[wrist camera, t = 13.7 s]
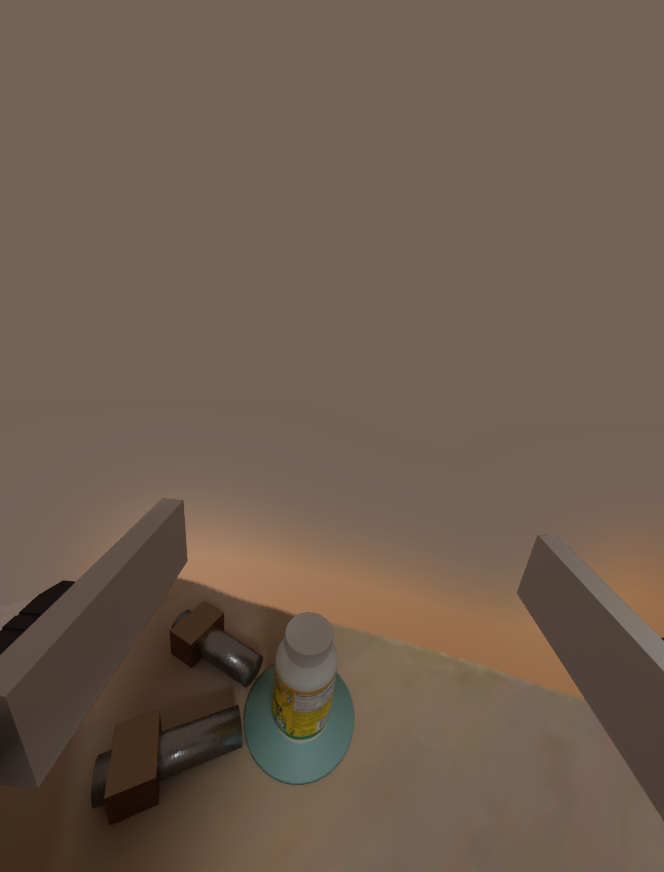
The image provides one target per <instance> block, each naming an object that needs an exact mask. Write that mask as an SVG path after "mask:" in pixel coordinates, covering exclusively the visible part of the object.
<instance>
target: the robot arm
mask: <svg viewBox="0 0 664 872" xmlns="http://www.w3.org/2000/svg"><path fill="white" fill-rule="evenodd" d="M186 562H187V547H186V532H185V518H184V503H183V500H176V499H166V498H162V499H161V500H160V501H159V502H158V503H157V504H156V505H155V506H154V507H153V508H152V509H151V510H150V511H149V512H148V513H147V514H146V515H145V516H144V517H143V518H142V519H141V520H140V521H139V522H138V523H136V524H135V525H134V526H133V528H131V529H130V530H129V531H128V532H127V533H126V534H125V535H124V536H123V537H122V538H121V539H120V540H119V541H118V542H117V543H116V544H115V545H114V546H113V547H112V548H111V549H110V550H109V551H108V552H106V554H104V555H103V556H102V557H101V558H100V559H99V560H98V561H97V562H96V563H95V564H94V565H93V566H92V567H91V568H90V569H89V570H88V571H87V572H86V573H85V574H84V575H83V576H82V577H81V578H80V579H79V580H77V581H76V582H73V581H61V582H60V583H58V584H56V585H55V586H53V587H51V588H49V589H48V590H46V591H44V592H43V593H41V594H39V595H38V596H37V597H36V598H35V599H34V600H32V601H31V602H30V603H29V604H28V605H27V606H26V607H25V608H23V609H22V610H21V611H20V612H19V615H18V616H15V617H13V618H12V619H11V620H10V621H9V622H8V623H7V624H6V625H4V626H3V627H2V630H1V631H0V784H1V785H10V786H20V787H31V788H39V787H40V785H41V784H42V782H43V781H44V779H45V778H46V776H47V774H48V773H49V771H50V770H51V768H52V767H53V765H54V764H55V762H56V761H57V759H58V758H59V756H60V755H61V753H62V752H63V750H64V749H65V747H66V746H67V744H68V742H69V741H70V739H71V738H72V736H73V735H74V733H75V732H76V730H77V729H78V727H79V726H80V724H81V723H82V721H83V720H84V718H85V717H86V715H87V713H88V712H89V710H90V709H91V707H92V706H93V704H94V703H95V701H96V700H97V698H98V697H99V695H100V694H101V692H102V691H103V689H104V688H105V686H106V684H107V683H108V681H109V680H110V678H111V677H112V675H113V674H114V672H115V671H116V669H117V668H118V666H119V665H120V663H121V662H122V660H123V659H124V657H125V656H126V654H127V652H128V651H129V649H130V648H131V646H132V645H133V643H134V642H135V640H136V639H137V637H138V636H139V634H140V633H141V631H142V630H143V628H144V627H145V625H146V623H147V622H148V620H149V619H150V617H151V616H152V614H153V613H154V611H155V610H156V608H157V607H158V605H159V604H160V602H161V601H162V599H163V598H164V596H165V594H166V593H167V591H168V590H169V588H170V587H171V585H172V584H173V582H174V581H175V579H176V578H177V576H178V575H179V573H180V571H181V570H182V569H183V567H184V565H185V564H186ZM517 594H518V596H519V597H520V599H521V600H522V602H523V603H524V605H525V607H526V608H527V610H528V611H529V613H530V614H531V616H532V617H533V619H534V620H535V622H536V624H537V625H538V627H539V628H540V630H541V631H542V633H543V634H544V636H545V637H546V639H547V641H548V642H549V644H550V645H551V647H552V648H553V650H554V652H555V653H556V655H557V656H558V658H559V659H560V661H561V662H562V664H563V665H564V667H565V668H566V670H567V671H568V673H569V674H570V676H571V678H572V679H573V681H574V682H575V684H576V686H577V687H578V688H579V690H580V692H581V693H582V695H583V696H584V698H585V700H586V701H587V703H588V704H589V706H590V707H591V709H592V710H593V712H594V713H595V715H596V717H597V718H598V720H599V721H600V723H601V724H602V726H603V727H604V729H605V730H606V732H607V734H608V735H609V737H610V738H611V740H612V741H613V743H614V744H615V746H616V748H617V749H618V751H619V752H620V754H621V755H622V757H623V758H624V760H625V761H626V763H627V765H628V766H629V768H630V769H631V771H632V772H633V774H634V775H635V777H636V779H637V780H638V782H639V783H640V785H641V786H642V788H643V789H644V791H645V792H646V794H647V796H648V797H649V799H650V800H651V802H652V803H653V805H654V806H655V808H656V809H657V811H658V813H659V814H660V816H661V817H662V819H663V820H664V638H660V637H659V636H658V635H657V634H656V633H655V632H654V631H653V630H652V629H651V628H650V627H649V626H648V625H647V624H646V623H645V622H644V621H643V620H642V619H641V618H640V617H639V616H638V615H637V614H636V613H635V612H634V611H633V610H632V609H631V608H630V607H629V606H628V605H627V604H626V603H625V602H624V601H623V600H622V599H621V598H620V597H619V596H618V595H617V594H616V593H615V592H614V591H613V590H612V589H611V588H610V587H609V586H608V585H607V584H606V583H605V582H604V581H602V579H601V578H600V577H599V576H598V575H597V574H596V573H595V572H594V571H593V570H591V569H590V568H589V567H588V566H587V565H586V564H585V563H584V562H583V561H582V560H581V559H580V558H579V557H578V556H577V555H576V554H575V553H574V552H573V551H572V550H571V549H570V548H569V547H568V546H567V545H566V544H565V543H564V542H563V541H562V540H561V539H560V538H559V537H555V536H545V535H538V536H537V538H536V541H535V544H534V547H533V549H532V552H531V555H530V558H529V561H528V563H527V566H526V569H525V572H524V575H523V577H522V580H521V583H520V586H519V588H518V591H517Z"/></svg>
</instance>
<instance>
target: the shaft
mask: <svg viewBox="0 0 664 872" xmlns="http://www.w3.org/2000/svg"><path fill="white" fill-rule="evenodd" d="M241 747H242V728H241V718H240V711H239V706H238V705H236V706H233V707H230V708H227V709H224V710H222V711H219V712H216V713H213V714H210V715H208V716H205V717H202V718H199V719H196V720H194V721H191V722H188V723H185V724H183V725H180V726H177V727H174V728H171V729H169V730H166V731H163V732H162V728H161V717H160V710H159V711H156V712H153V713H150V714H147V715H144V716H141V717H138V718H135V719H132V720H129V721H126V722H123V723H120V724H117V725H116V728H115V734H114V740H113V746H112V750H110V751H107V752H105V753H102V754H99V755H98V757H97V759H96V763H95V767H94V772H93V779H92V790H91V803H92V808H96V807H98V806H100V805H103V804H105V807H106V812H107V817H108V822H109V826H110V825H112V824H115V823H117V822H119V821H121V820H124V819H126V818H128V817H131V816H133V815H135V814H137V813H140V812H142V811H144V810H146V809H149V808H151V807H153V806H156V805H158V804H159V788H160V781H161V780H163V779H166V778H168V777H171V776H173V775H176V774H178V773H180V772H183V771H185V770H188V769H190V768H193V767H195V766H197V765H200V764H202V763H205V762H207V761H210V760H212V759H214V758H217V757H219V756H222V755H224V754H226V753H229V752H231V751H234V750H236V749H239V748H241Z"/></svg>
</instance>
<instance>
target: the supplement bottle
mask: <svg viewBox="0 0 664 872" xmlns="http://www.w3.org/2000/svg"><path fill="white" fill-rule="evenodd" d="M332 641H333V631H332V627H331V625H330V623H329V622H328V621H327V620H326V619H325V618H324V617H322V616H321V615H318V614H316V613H308V612H307V613H301V614H299V615H296V616H295V617H293V618H292V619H291V620H290V621H289V623H288V625H287V627H286V630H285V637H284V638H283V640H282V641H281V643H280V644H279V646H278V649H277V652H276V657H275V670H274V686H273V702H272V716H273V721H274V724H275V726H276V728H277V729H278V731H279V732H280V733H281V734H282V736H283V737H284V738H286V739H287V740H289V741H291V742H293V743H307V742H310V741H312V740H314V739H316V738H317V737H318V736H319V735H320V734H321V733H322V732H323V731H324V729H325V727H326V726H327V723H328V720H329V717H330V712H331V705H332V698H333V691H334V684H335V677H336V671H337V660H338V659H337V652H336V648H335V646H334V644H333V642H332Z"/></svg>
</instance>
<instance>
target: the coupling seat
mask: <svg viewBox="0 0 664 872" xmlns="http://www.w3.org/2000/svg"><path fill="white" fill-rule="evenodd" d="M274 670H275V665H274V666H272V667H271V668H269V669H268V670H267V671H266V672H265V673H264V674H263V675H262V676H261V677H260V678H259V679H258V681H257V682H256V684H255V685H254V687H253V689H252V691H251V693H250V695H249V698H248V701H247V704H246V710H245V719H244V727H245V736H246V741H247V745H248V748H249V750H250V752H251V755H252V757H253V758H254V760H255V761H256V763H257V764H258V765H259V767H260V768H261V769H262V770H263V771H264V772H265V773H267V774H268V775H269V776H271V777H272V778H274V779H276V780H278V781H280V782H283V783H287V784H292V785H302V784H308V783H311V782H314V781H317V780H319V779H321V778H323V777H325V776H326V775H327V774H329V773H330V772H331V771H332V770H333V769H334V768H335V767H336V766H337V765H338V764H339V762H340V761H341V760H342V758H343V757H344V755H345V753H346V751H347V749H348V747H349V744H350V741H351V737H352V733H353V727H354V709H353V703H352V699H351V696H350V693H349V691H348V689H347V686H346V685H345V683H344V681H343V680H342V679H341V677H340V676H339V675H338V674H337V673H336V677H335V684H334V691H333V698H332V705H331V712H330V717H329V720H328V723H327V726H326V727H325V729H324V731H323V732H322V733H321V734H320V735H319V736H318V737H317V738H316V739H314V740H312V741H310V742H307V743H293V742H291V741H289V740H287V739H286V738H284V737H283V736H282V734H281V733H280V732H279V731H278V729H277V728H276V726H275V724H274V721H273V716H272V702H273V686H274Z"/></svg>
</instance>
